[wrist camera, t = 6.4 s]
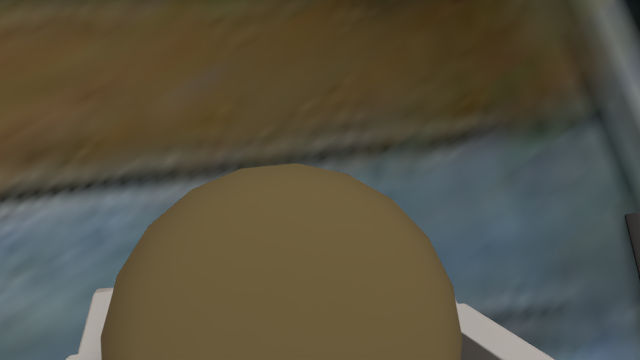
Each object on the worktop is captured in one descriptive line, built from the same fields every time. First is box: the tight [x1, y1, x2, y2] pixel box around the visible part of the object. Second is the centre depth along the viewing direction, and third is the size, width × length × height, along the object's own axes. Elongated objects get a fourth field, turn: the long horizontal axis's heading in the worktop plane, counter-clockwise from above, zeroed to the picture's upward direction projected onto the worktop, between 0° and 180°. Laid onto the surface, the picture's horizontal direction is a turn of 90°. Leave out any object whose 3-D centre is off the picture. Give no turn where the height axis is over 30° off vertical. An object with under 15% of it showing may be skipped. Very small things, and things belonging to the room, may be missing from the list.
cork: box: [101, 163, 463, 360], centre depth 11 cm, size 6×6×11 cm
